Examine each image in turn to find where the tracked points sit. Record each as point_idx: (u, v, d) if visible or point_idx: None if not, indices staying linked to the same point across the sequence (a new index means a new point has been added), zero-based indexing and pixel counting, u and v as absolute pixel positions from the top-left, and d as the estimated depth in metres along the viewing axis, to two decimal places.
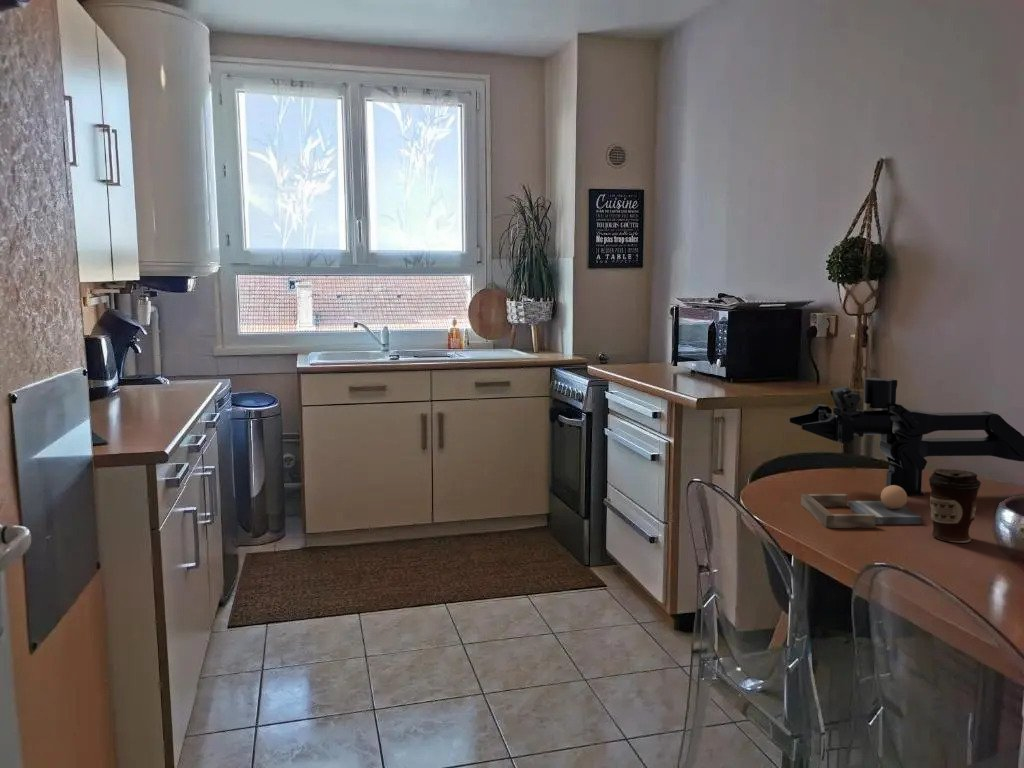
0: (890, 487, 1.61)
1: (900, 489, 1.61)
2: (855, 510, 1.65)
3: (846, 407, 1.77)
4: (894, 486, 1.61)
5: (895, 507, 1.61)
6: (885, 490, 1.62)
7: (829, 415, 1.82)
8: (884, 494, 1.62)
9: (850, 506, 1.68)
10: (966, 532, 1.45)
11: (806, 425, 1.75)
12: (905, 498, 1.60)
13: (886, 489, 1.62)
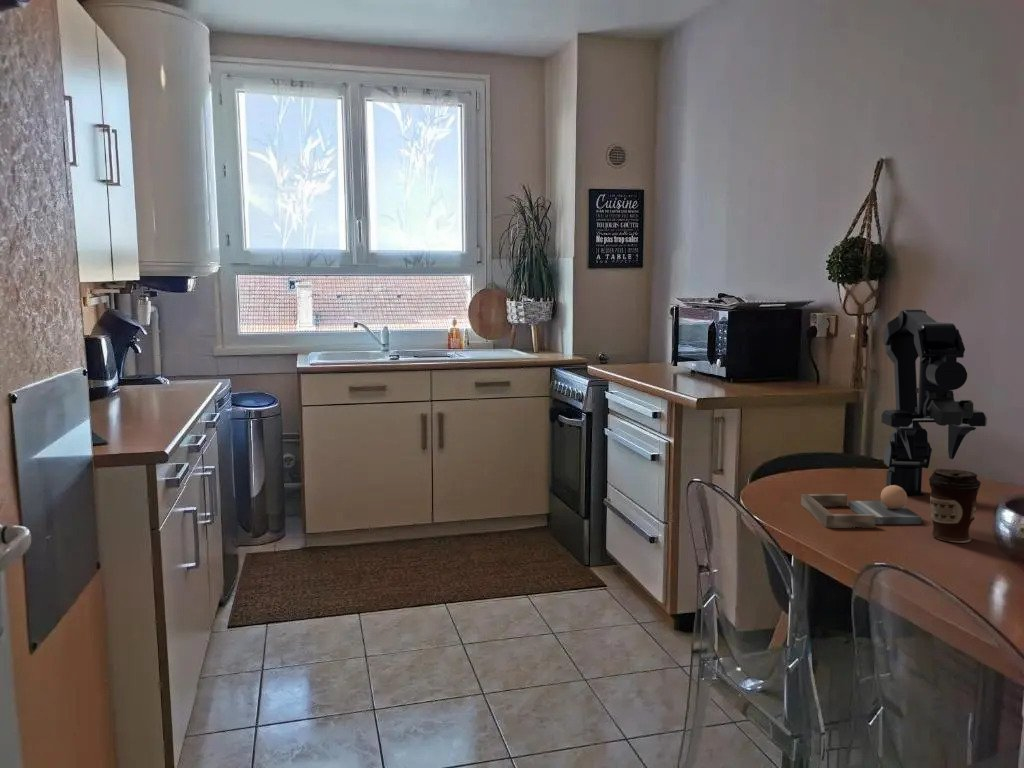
0: (890, 487, 1.61)
1: (900, 489, 1.61)
2: (855, 510, 1.65)
3: None
4: (894, 486, 1.61)
5: (895, 507, 1.61)
6: (885, 490, 1.62)
7: (927, 419, 1.59)
8: (884, 494, 1.62)
9: (850, 506, 1.68)
10: (966, 532, 1.45)
11: None
12: (905, 498, 1.60)
13: (886, 489, 1.62)
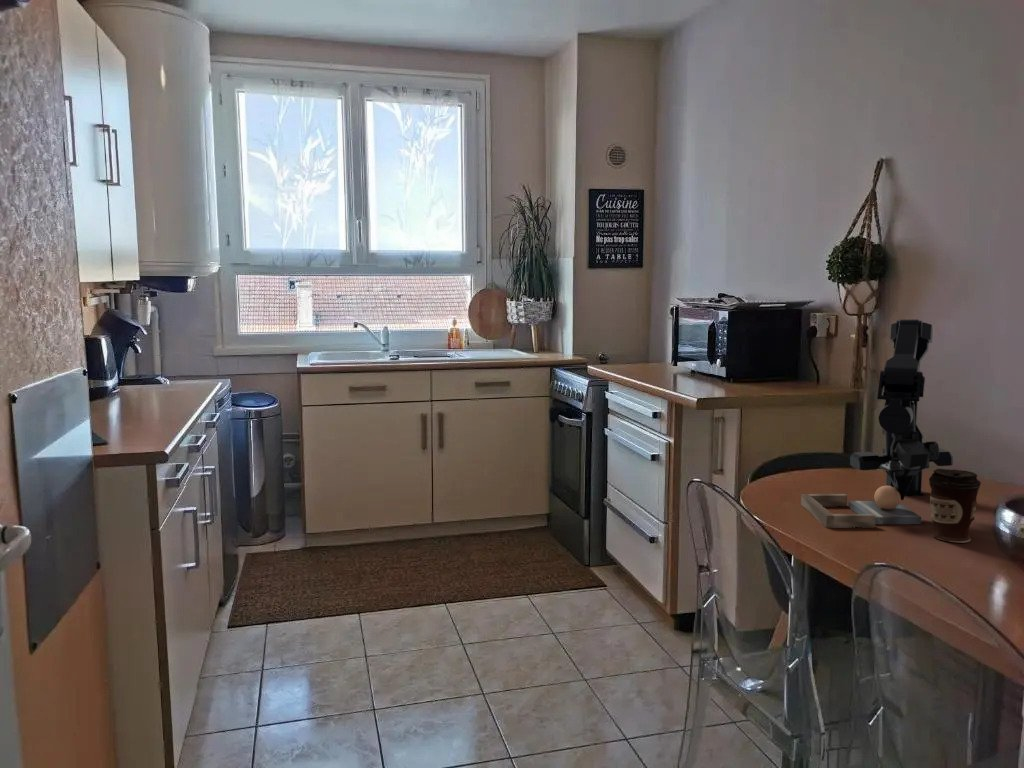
0: (879, 491, 1.62)
1: (888, 489, 1.61)
2: (855, 510, 1.65)
3: None
4: (882, 489, 1.61)
5: (893, 507, 1.61)
6: (876, 496, 1.62)
7: None
8: (877, 501, 1.62)
9: (850, 506, 1.68)
10: (966, 532, 1.45)
11: None
12: (897, 495, 1.60)
13: (876, 495, 1.62)
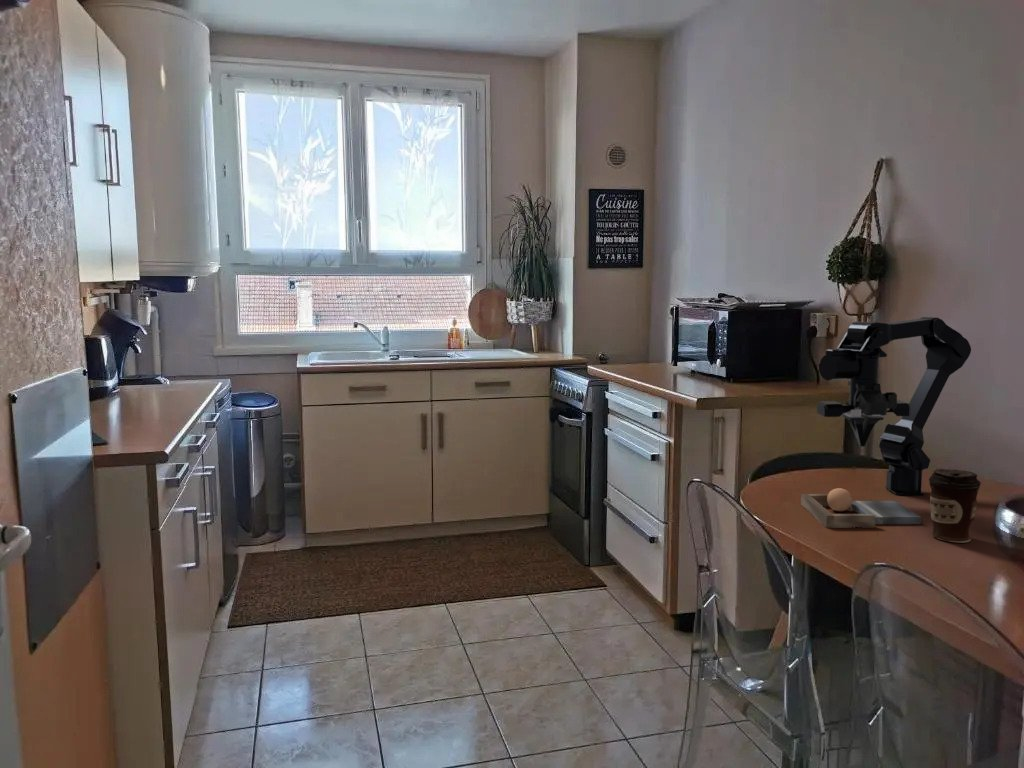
0: None
1: (848, 507, 1.65)
2: (855, 510, 1.65)
3: None
4: (851, 503, 1.65)
5: (832, 496, 1.65)
6: (850, 494, 1.66)
7: None
8: (847, 491, 1.65)
9: (850, 506, 1.68)
10: (966, 532, 1.45)
11: None
12: (839, 508, 1.65)
13: None
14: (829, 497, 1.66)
